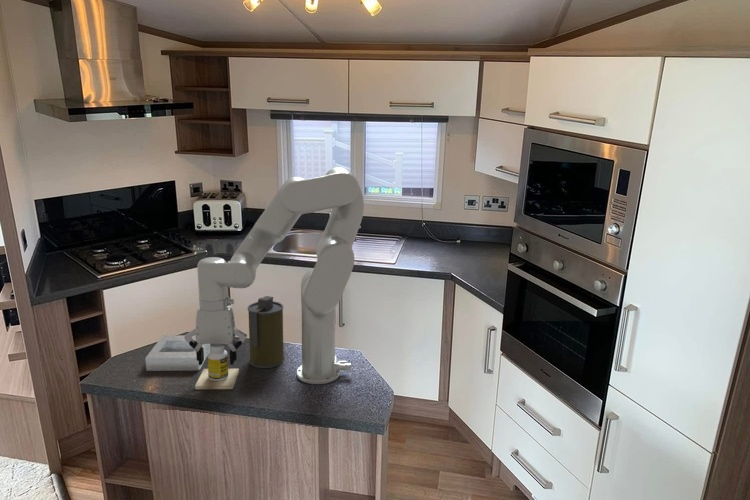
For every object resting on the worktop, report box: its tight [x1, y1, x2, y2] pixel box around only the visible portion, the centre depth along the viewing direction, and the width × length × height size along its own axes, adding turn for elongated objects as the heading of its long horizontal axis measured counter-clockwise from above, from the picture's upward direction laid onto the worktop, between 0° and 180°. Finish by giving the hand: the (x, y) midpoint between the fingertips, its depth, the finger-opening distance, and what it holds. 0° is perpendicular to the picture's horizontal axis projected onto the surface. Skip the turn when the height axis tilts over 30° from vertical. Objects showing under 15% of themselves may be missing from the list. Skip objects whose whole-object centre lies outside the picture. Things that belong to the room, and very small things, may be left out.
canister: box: [247, 295, 285, 369], centre depth 161 cm, size 11×10×20 cm
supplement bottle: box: [207, 344, 229, 381], centre depth 150 cm, size 5×5×10 cm
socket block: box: [144, 334, 210, 372], centre depth 163 cm, size 15×16×4 cm
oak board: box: [194, 368, 240, 390], centre depth 151 cm, size 10×10×1 cm
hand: (217, 362), depth 150 cm, fingers open, 8 cm apart
